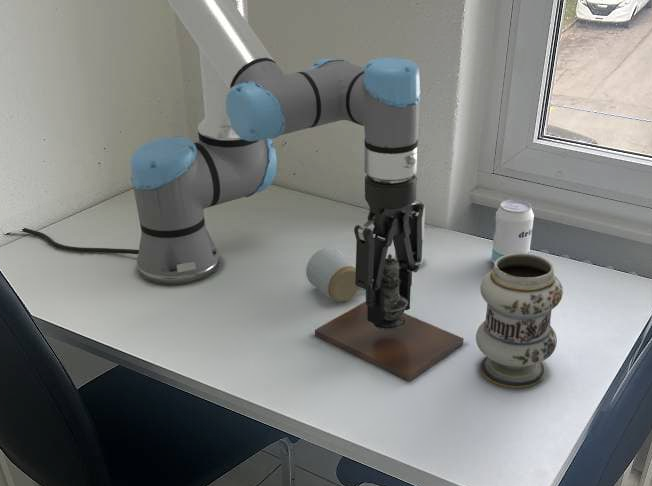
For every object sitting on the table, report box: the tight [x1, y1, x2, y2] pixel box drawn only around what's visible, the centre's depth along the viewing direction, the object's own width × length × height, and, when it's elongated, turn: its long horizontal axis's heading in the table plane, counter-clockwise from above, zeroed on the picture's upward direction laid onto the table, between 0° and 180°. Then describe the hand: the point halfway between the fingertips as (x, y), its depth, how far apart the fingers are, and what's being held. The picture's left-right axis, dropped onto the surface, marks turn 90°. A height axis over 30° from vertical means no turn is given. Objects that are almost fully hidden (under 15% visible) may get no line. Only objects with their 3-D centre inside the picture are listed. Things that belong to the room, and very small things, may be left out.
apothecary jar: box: [475, 253, 564, 389], centre depth 119 cm, size 12×12×18 cm
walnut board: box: [314, 300, 464, 382], centre depth 131 cm, size 20×14×1 cm
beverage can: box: [491, 199, 535, 264], centre depth 150 cm, size 7×7×12 cm
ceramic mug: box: [305, 247, 366, 303], centre depth 142 cm, size 11×8×8 cm
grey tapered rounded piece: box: [373, 253, 408, 330], centre depth 126 cm, size 6×6×12 cm
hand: (388, 314), depth 128 cm, fingers closed on grey tapered rounded piece, 6 cm apart
